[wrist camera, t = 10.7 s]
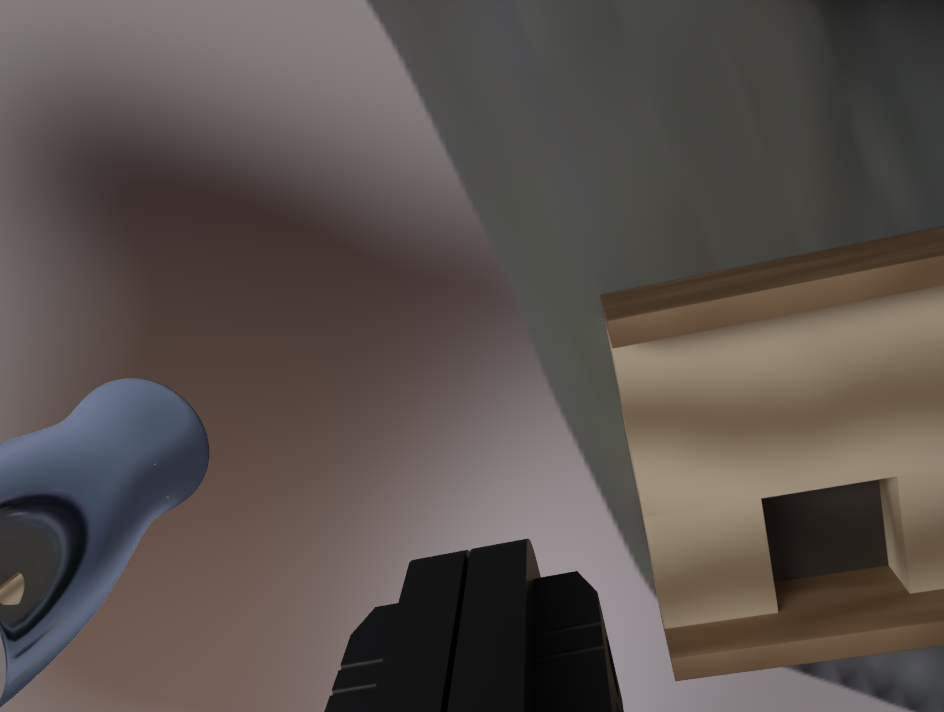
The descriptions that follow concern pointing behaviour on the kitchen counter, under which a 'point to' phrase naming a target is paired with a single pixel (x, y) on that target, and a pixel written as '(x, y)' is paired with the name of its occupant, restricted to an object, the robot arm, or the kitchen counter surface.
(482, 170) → the kitchen counter surface
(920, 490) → the trap tray
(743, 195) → the kitchen counter surface
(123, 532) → the blue flashlight
